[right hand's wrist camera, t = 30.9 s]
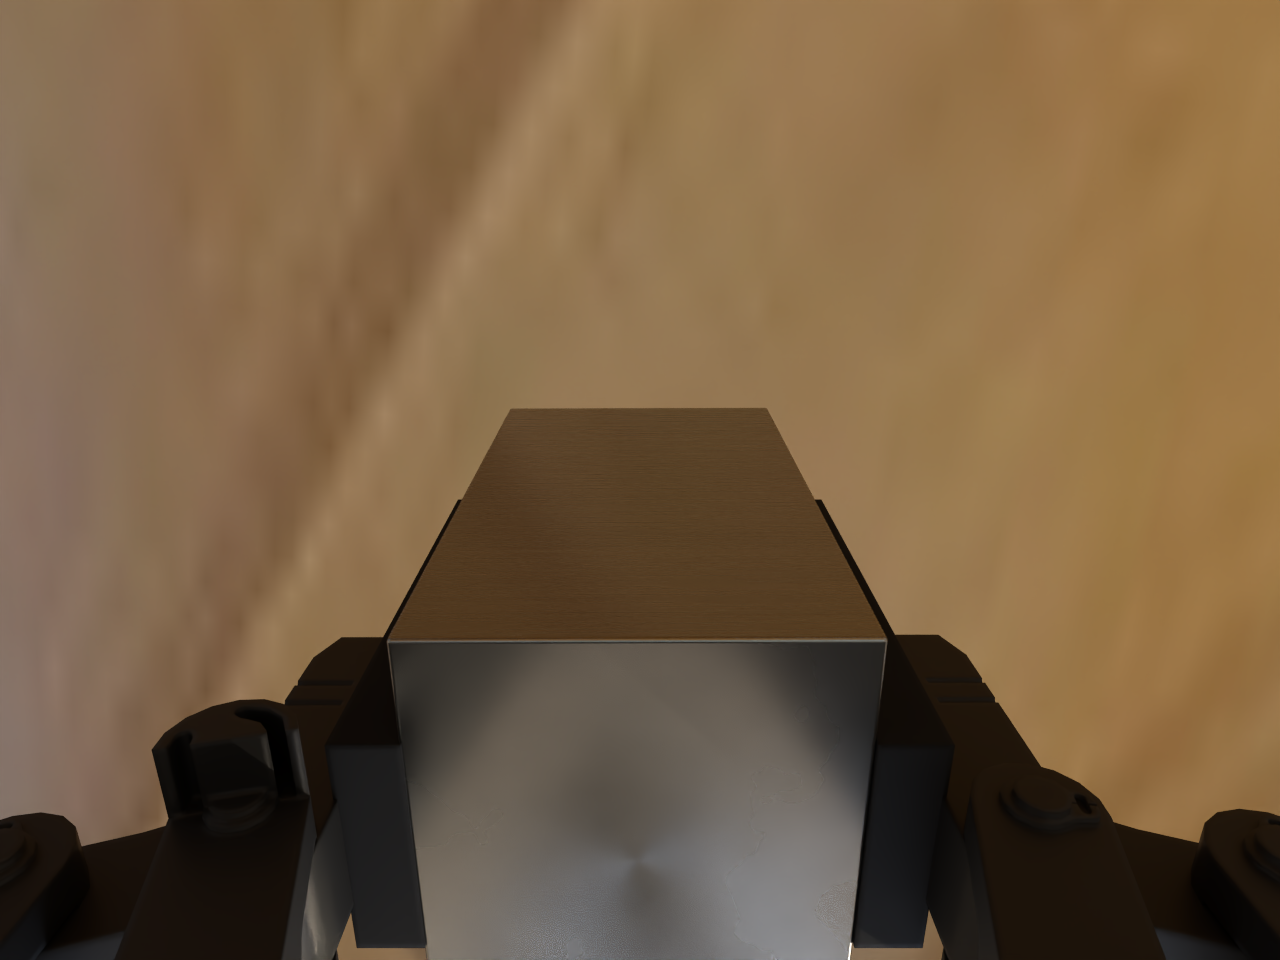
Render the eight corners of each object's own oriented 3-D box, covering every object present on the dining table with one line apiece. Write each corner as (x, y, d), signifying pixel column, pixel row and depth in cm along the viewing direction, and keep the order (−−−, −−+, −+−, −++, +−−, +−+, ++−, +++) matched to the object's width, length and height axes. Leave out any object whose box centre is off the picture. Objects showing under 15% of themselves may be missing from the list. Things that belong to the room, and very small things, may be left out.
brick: (754, 659, 17) (841, 1040, 10) (524, 659, 17) (435, 1041, 10) (767, 407, 15) (889, 637, 8) (510, 407, 15) (384, 639, 8)
